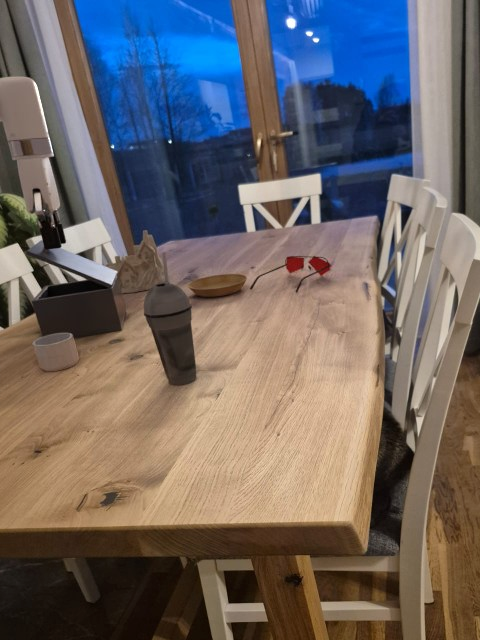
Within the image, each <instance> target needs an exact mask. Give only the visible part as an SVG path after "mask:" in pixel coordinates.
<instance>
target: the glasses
mask: <svg viewBox="0 0 480 640" xmlns="http://www.w3.org/2000/svg"><path fill="white" fill-rule="evenodd" d="M305 258H310V256H309V255H308V256H305V255H303V256H302V255H289V256H286V258H285V261H284V264H282V265H281V266H278V267H276V268H274V269H270V270H269V271H265V272H264V273H262V274H260V275H258V276H257V277H255V279H254V281H253V283H252V284H251V286H250V287H249V290H253V289H254V287H255V285H256V283H257V281H258V280H259V279H260V278H261V277H263V276H265V275H267V274H270V273H272V272H275V271H278V270H280V269H283V268H284V267H285V269H286V270H287V272H288V273H289V274H292V273H295V272H297V271H299V270H303V269H304V268H305ZM307 263H308V264H309V265H308V266H307V268H308V269H309V270H310V271H311V270H313V269H314V272H312V273H310V274H308V275H306V276H303V277H302V278H301V279H300V281H299V283H298V285H297V287H296V289H295V290H294V291H295V293H296V294H297V293H299V290H300V288H301V286H302V283H303V281H304V280H305V279H307V278H310V277H311V276H314V275H316V274H318V275H319V276H320V277H322V276H324V275H325V274H326V273H329V272H330V271H331V268H332V264H331V262H329V261H328V259H327V258H326V257H324V256H317V255H313V256H312V257H311V258H310V259H309V260H308V262H307Z"/></svg>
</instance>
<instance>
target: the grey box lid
mask: <svg viewBox="0 0 480 640" xmlns="http://www.w3.org/2000/svg"><path fill="white" fill-rule="evenodd" d="M57 230H58V229H57ZM58 234H59V230H58ZM25 255H26V256H29V257H31V258H33V259H36V260H39V261H41V262H43V263H46V264H48V265H50V266H53V267H56V268H58V269H61V270H64V271H66V272H69V273H71V274H74V275H76V276H79V277H81V278H84V279H85V280H91V281H93V282H96V283H98V284H101V285H103V286H106V287H108V288H111V286H112V284H113V282H114V279H115V277H116V274H117V271H115V270H112V269H110V268H108V267H106V265H102V264H100V263H98V262H96V261H94V260H90V259H88V258H85V257H83V256H81V255H79V254H77V253H73V252H72V251H70V250H67V249H64V248H62V247H61V248H56V249H48V250H46V249H45V248H44V244H43V240H42V239H41V240H39V241H38V242H37V243H35V244H34V245H33V246H31V247H30V248H28V249H27V250H26V252H25Z"/></svg>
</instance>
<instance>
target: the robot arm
mask: <svg viewBox="0 0 480 640" xmlns="http://www.w3.org/2000/svg"><path fill="white" fill-rule="evenodd" d="M38 88H39V87H38V86H37V83H36V81H35V80H34V79H33V78H31V77H28V76H19V75H18V76H16V75H15V76H5V77H0V123H1V122H2V125H3V126H2V127H3V129H4V132H5V136H6V140H7V141H6V142H7V144H8V148H9V151H10V155H11V159H12V161H16V165H17V171H18V177H19V183H20V187H21V191H22V195H23V199H24V204H25V208H26V212H27V213H28V214H29V215H33V214H36V218H37V223H38V229H39V233H40V236H41V240H42V241H43V244H44V248H45V249H46V250H48V249H56V248H62V245H64V244H66V243H67V239H66V234H65V231H64V230H65V229H64V227H63V223H62V220H61V216H60V213H59V208H60V207H61V201H60V196H59V190H58V188H57V183H56V180H55V176H54V172H53V167H52V165H51V161H50V158H52V157H55V154H54V151H53V146H52V142H51V138H50V134H49V129H48V126H47V122H46V117H45V113H44V109H43V105H42V101H41V97H40V93H39V92H40V91H39V89H38ZM57 229H58V230H59V234H58V230H57Z"/></svg>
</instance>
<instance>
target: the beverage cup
mask: <svg viewBox="0 0 480 640" xmlns="http://www.w3.org/2000/svg"><path fill="white" fill-rule="evenodd" d="M161 253H162V264H163V267H164V277H165V283H161V284H157V285H155V286H154V287H152V288H151V289H150V290H147V293H146V295H145V297H144V301H143V316H144V317H145V320H146V322H147V324H148V327H149V328H150V330H151V333H152V337H153V340H154V343H155V347H156V350H157V353H158V356H159V359H160V361H161V365H162V367H163V371H164V374H165V376H166V378H167V381H168V382H167V383H169V385H171V384H172V385H171V386H184V385H187V383H188V384H191V383H193V382H195V381H196V380H197V378H198V377H197V364H196V354H195V346H194V345H195V344H194V337H193V329H192V319H193V317H192V309H193V306H192V304H191V301H190V298H189V297H188V295H187V293H186V291H184V289H182V287H180V286H179V285H176V284H174V283H171V282H170V281H169V282H168V276H169V273H168V262H167V252H161ZM195 379H196V380H195ZM192 381H193V382H192ZM183 384H184V385H183Z"/></svg>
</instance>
